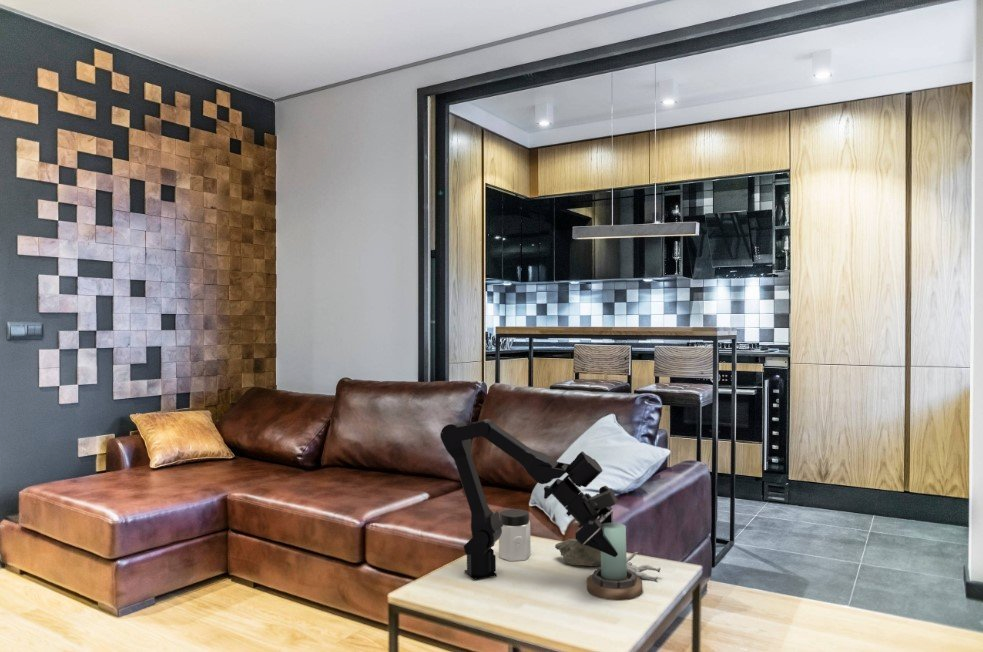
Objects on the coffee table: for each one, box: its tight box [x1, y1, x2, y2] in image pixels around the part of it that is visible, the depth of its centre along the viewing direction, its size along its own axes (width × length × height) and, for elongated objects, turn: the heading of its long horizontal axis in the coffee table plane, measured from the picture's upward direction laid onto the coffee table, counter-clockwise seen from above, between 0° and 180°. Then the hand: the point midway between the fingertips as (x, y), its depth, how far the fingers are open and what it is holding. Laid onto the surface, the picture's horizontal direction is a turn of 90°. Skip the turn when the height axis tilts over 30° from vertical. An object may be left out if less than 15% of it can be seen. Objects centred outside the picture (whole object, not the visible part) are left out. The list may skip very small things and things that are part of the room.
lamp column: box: [600, 522, 627, 581], centre depth 158 cm, size 6×6×13 cm
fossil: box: [554, 538, 601, 567], centre depth 177 cm, size 14×10×10 cm
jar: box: [498, 508, 532, 562], centre depth 183 cm, size 9×8×12 cm
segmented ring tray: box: [586, 568, 643, 601], centre depth 158 cm, size 13×13×4 cm
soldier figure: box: [626, 551, 661, 581], centre depth 167 cm, size 8×5×12 cm
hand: (619, 549), depth 158 cm, fingers open, 9 cm apart
